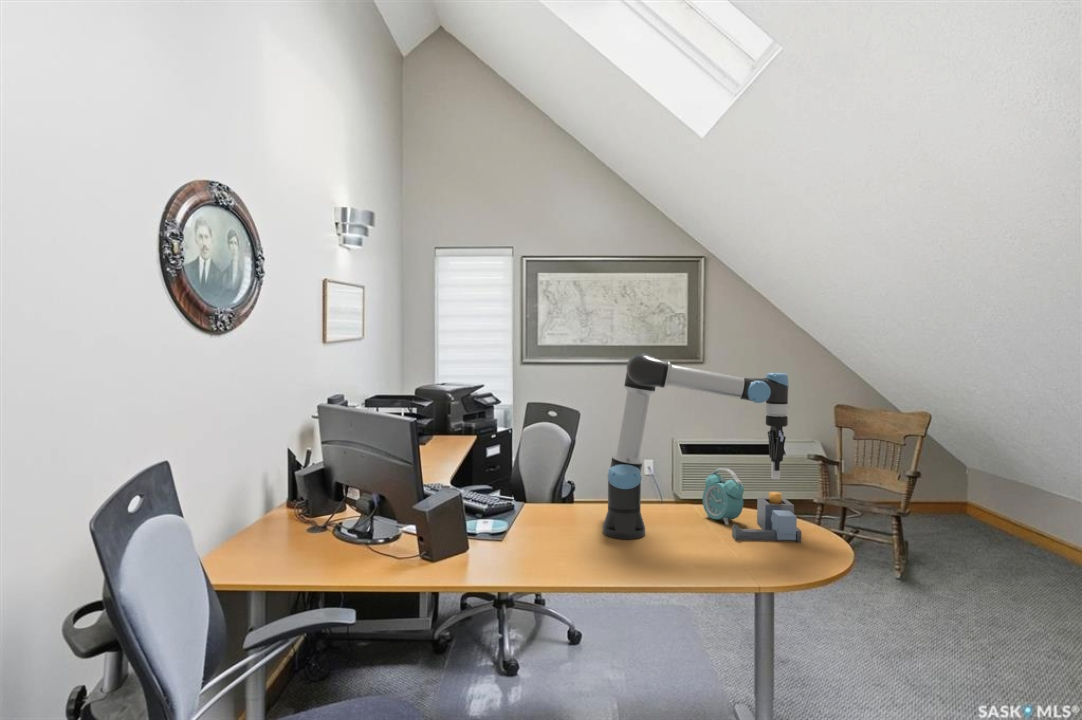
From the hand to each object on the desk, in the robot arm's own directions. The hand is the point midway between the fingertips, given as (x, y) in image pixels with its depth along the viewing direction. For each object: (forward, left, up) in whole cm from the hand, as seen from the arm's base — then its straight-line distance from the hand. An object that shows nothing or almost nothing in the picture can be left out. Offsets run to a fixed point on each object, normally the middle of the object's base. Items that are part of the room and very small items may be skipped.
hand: (775, 478), depth 219 cm
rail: (-7, -13, -18) cm, 24 cm away
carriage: (-1, -13, -17) cm, 22 cm away
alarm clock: (-17, +9, -19) cm, 27 cm away
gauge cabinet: (0, 0, -18) cm, 18 cm away
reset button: (0, 0, -9) cm, 9 cm away
